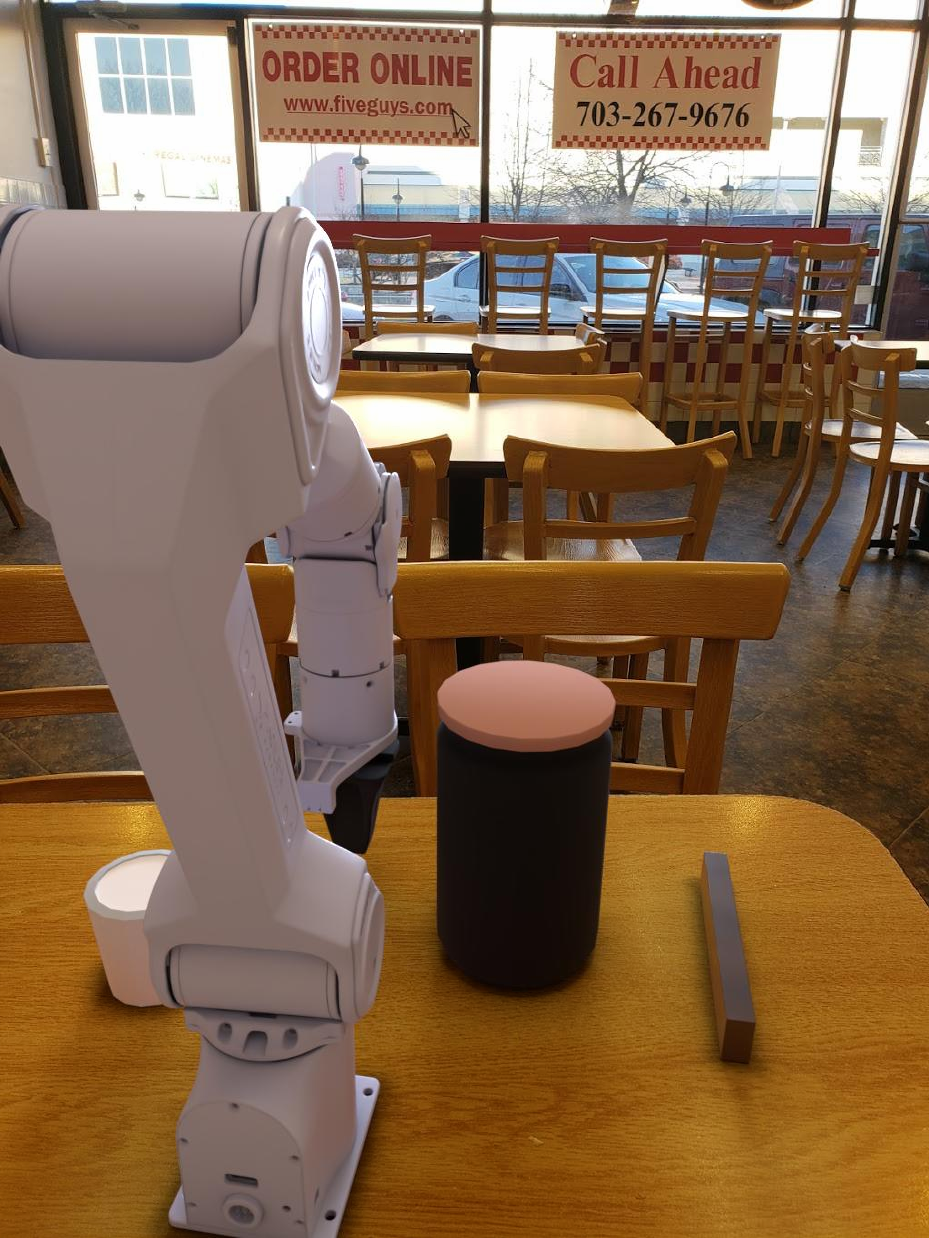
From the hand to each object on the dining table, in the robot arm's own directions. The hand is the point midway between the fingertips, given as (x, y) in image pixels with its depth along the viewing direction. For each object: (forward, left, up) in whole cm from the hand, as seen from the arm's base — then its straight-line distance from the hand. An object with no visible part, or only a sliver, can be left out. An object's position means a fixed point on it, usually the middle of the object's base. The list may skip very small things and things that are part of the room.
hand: (353, 847), depth 62 cm
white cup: (-7, +11, -6) cm, 14 cm away
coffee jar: (0, -11, -6) cm, 13 cm away
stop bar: (0, -24, -6) cm, 25 cm away
